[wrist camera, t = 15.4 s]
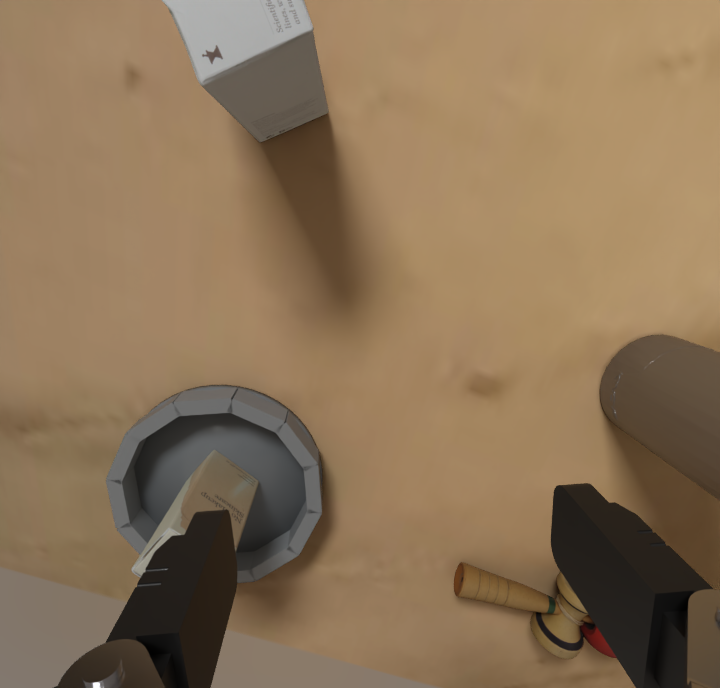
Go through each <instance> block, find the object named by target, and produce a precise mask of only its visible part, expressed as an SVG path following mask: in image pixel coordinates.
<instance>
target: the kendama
mask: <svg viewBox="0 0 720 688" xmlns="http://www.w3.org/2000/svg"><path fill="white" fill-rule="evenodd" d="M556 581H557V585H558V588H559V591H560V593H559V594H558V595H557V598H556V599H554V598H552V597H550V596H548V595H546V594H543V593H541V592H539V591H537V590H534V589H532V588H530V587H527V586H525V585H523V584H520V583H517V582H515V581H512V580H509V579H505V578H503V577H500V576H497V575H495V574H492V573H489V572H486V571H484V570H481V569H477V568H476V567H473V566H471V565H468V564H466V563H463V562H461V563H460V564H459V565H458V567H457V570H456V573H455V578H454V591H455V594H456V596H458V597H463V598H469V599H475V600H479V601H484V602H488V603H493V604H497V605H503V606H506V607H511V608H515V609H521V610H527V611H534V613H533V615H532V617H531V621H530V624H531V629H532V632H533V634H534V636H535V637H536V639H537V640H538V642H539V643H540V644H541V645H542V646H543V647H544V648H545V649H546V650H548V651H549V652H550V653H552V654H553V655H555V656H557V657H560V658H563V659H572V658H574V657H576V656H577V654H578V653H579V652H580V650H581V649H582V647H583V644H584V640H583V637H585V639H586V640H587V641H588V642H589V643H590V644H591V645H592V646H593V647H594V648H595V649H596V650H598V651H599V652H601V653H602V654H604V655H607V656H609V657H613V658H617V657H616V656H615V654H614V653H613V651H612V650H611V648H610V647H609V645H608V643H607V642H606V640H605V639H604V637H603V636H602V634H601V633H600V631H599V630H598V628H597V627H596V625H595V623H594V622H593V620H592V619H591V617H590V616H589V614H588V613H587V611H586V610H585V608H584V606H583V605H582V603H581V602H580V600H579V599H578V597H577V596H576V594H575V593H574V591H573V590H572V588H571V586H570V585H569V583H568V582H567V580H566V579H565V577H564V576H563V574H562V573H561V572H560V573H559V575H558V576H557V580H556Z"/></svg>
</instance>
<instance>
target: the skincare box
mask: <svg viewBox="0 0 720 688" xmlns="http://www.w3.org/2000/svg"><path fill="white" fill-rule="evenodd" d="M162 1H163V2H164V4H165V5H166V6H167V7H168V9H169V11H170V13H171V15H172V17H173V19H174V22H175V24H176V26H177V29H178V31H179V33H180V35H181V38H182V40H183V42H184V44H185V47H186V49H187V52H188V55H189V57H190V60H191V63H192V66H193V69H194V71H195V74H196V77H197V79H198V81H199V83H200V85H201V86H202V87H203V88H204V89H205V90H206V91H207V92H208V93H210V94H211V95H212V96H213V97H214V98H215V99H216V100H217V101H218V102H219V103H220V104H221V105H222V106H223V107H224V108H225V109H226V110H227V111H228V112H229V113H230V114H231V115H232V116H233V117H234V118H235V119H236V120H237V121H238V122H239V123H240V124H241V125H242V126H243V127H244V128H245V129H246V130H247V131H248V132H249V133H250V134H251V135H252V136H253V137H255V138H256V139H257V140H258V141H259V142H263V141H265V140H268V139H270V138H272V137H275V136H277V135H279V134H282V133H284V132H286V131H289V130H291V129H293V128H295V127H298V126H300V125H302V124H304V123H307V122H309V121H311V120H313V119H316V118H318V117H320V116H323V115H325V114H327V113H328V106H327V101H326V96H325V91H324V85H323V80H322V76H321V71H320V66H319V61H318V56H317V51H316V46H315V40H314V34H313V25H312V22H311V19H310V16H309V14H308V11H307V8H306V5H305V2H304V0H162Z"/></svg>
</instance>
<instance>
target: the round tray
mask: <svg viewBox="0 0 720 688" xmlns="http://www.w3.org/2000/svg"><path fill="white" fill-rule="evenodd" d="M213 450H216V451H218V452H219V453H220V454H222V455H223V456H225V457H226V458H228V459H229V460H230V461H232V462H233V463H235V464H236V465H237V466H239V467H240V468H242V469H243V470H244V471H246V472H247V473H248V474H250V475H251V476H253V477H254V478H255V479H257V480H258V481H259V485H258V487H257V490H256V493H255V496H254V499H253V502H252V505H251V508H250V511H249V514H248V517H247V520H246V523H245V526H244V529H243V532H242V535H241V538H240V541H239V544H238V547H237V550H236V560H237V583H244V582H254V581H255V580H256V581H257V580H259V579H260V578H262V577H264V576H265V575H267V574H269V573H270V572H272V571H274V570H276V569H277V568H279V567H281V566H282V565H284V564H286V563H287V562H289V561H291V560H292V559H294V558H296V557H297V556H298V555H299V554H300V552H301V551H302V549H303V547H304V545H305V543H306V542H307V540H308V538H309V536H310V534H311V532H312V531H313V529H314V527H315V525H316V523H317V522H318V520H319V518H320V516H321V514H322V499H323V495H322V465H321V458H320V455H319V452H318V448H317V446H316V444H315V441H314V439H313V437H312V435H311V434H310V432H309V431H308V429H307V428H306V426H305V425H304V424H303V423H302V421H301V420H300V419H299V418H298V417H297V416H296V415H295V414H294V413H293V412H292V411H291V410H290V409H288V408H287V407H286V406H284V405H283V404H281V403H280V402H278V401H277V400H275V399H273V398H271V397H269V396H267V395H265V394H263V393H260V392H258V391H255V390H252V389H248V388H244V387H239V386H231V385H208V386H200V387H196V388H192V389H188V390H185V391H182V392H180V393H177V394H175V395H173V396H171V397H169V398H168V399H166V400H164V401H162V402H161V403H160V404H158V405H157V406H156V407H155V408H153V409H152V410H151V411H150V412H149V413H148V414H147V415H145V416H144V417H142V418H141V419H139V420H138V421H137V422H136V423H135V424H134V425H133V426H132V427H131V428H130V429H129V430H128V431H127V433H126V434H125V436H124V438H123V441H122V443H121V445H120V448H119V450H118V452H117V455H116V457H115V459H114V462H113V464H112V466H111V469H110V471H109V473H108V476H107V478H106V479H107V480H106V484H107V488H108V493H109V498H110V503H111V507H112V512H113V517H114V522H115V527H116V528H118V529H117V531H118V532H119V533H120V534H121V535H122V536H123V537H124V538H125V539H126V540H127V541H128V542H129V543H130V545H131V546H132V547H133V548H134V549H135V550H136V551H137V552H138V553H139V554H140V555H141V553H142V552H143V550H144V549H145V547H146V545H147V544H148V542H149V541H150V539H151V537H152V536H153V534H154V532H155V531H156V529H157V528H158V526H159V524H160V523H161V521H162V520H163V518H164V517H165V515H166V513H167V512H168V510H169V509H170V507H171V505H172V504H173V502H174V500H175V499H176V497H177V495H178V494H179V492H180V491H181V489H182V487H183V486H184V484H185V482H186V481H187V480H188V478H189V477H190V476H191V475H192V474H193V472H194V471H195V470H196V469H197V468H198V467H199V465H200V464H201V463H202V462H203V461H204V460H205V459H206V458H207V456H208V455H209V454H210V453H211V452H212V451H213Z"/></svg>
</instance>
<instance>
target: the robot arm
mask: <svg viewBox="0 0 720 688" xmlns="http://www.w3.org/2000/svg"><path fill="white" fill-rule="evenodd" d="M600 400H601V403H602V407H603V410H604V412H605V413H606V415H607V417H608V418H609V419H610V420H611V421H612V422H613V423H614V424H615V425H616V426H618V427H619V428H620V429H622V430H623V431H625V432H626V433H627V434H629V435H630V436H631V437H633V438H634V439H636V440H637V441H638V442H640V443H641V444H642V445H644V446H645V447H646V448H648V449H649V450H650V451H652V452H653V453H655V454H656V455H657V456H659V457H660V458H661V459H663V460H664V461H666V462H667V463H668V464H670V465H671V466H673V467H674V468H675V469H677V470H678V471H679V472H681V473H682V474H684V475H685V476H686V477H688V478H689V479H691V480H692V481H693V482H695V483H696V484H697V485H699V486H700V487H702V488H703V489H704V490H706V491H707V492H709V493H710V494H711V495H713V496H714V497H715V498H717V499H718V500H720V352H717V351H714V350H712V349H709V348H706V347H703V346H700V345H697V344H694V343H691V342H688V341H685V340H682V339H679V338H676V337H673V336H668V335H651V336H647V337H643V338H640V339H638V340H636V341H634V342H632V343H630V344H628V345H627V346H626V347H624V348H623V349H621V350H620V351H619V352H618V353H617V354H616V355H615V357H614V358H613V359H612V360H611V362H610V363H609V365H608V366H607V368H606V370H605V372H604V375H603V377H602V381H601V387H600ZM551 547H552V552H553V556H554V559H555V562H556V564H557V566H558V568H559V570H560V571H561V573H562V574H563V576H564V577H565V579H566V580H567V582H568V583H569V585H570V586H571V588H572V590H573V591H574V593H575V594H576V596H577V597H578V599H579V600H580V602H581V603H582V605H583V606H584V608H585V610H586V611H587V613H588V614H589V616H590V617H591V619H592V620H593V622H594V623H595V625H596V627H597V628H598V630H599V631H600V633H601V634H602V636H603V637H604V639H605V640H606V642H607V643H608V645H609V647H610V648H611V650H612V651H613V653H614V654H615V656H616V657H617V659H618V660H619V662H620V664H621V665H622V667H623V668H624V670H625V671H626V673H627V674H628V676H629V677H630V679H631V680H632V682H633V684H634V685H635V687H636V688H720V590H715V589H713V588H712V587H711V586H710V585H709V584H708V583H707V582H706V581H705V580H704V579H703V578H702V577H701V576H699V575H698V574H697V573H696V572H695V571H694V570H693V569H692V568H691V567H690V566H689V565H688V564H687V563H686V562H685V561H684V560H683V559H682V558H681V557H680V556H679V555H678V554H677V553H676V552H675V551H674V550H673V549H672V548H671V547H670V546H666V544H665V542H664V541H663V540H662V539H661V538H660V537H659V536H658V535H657V534H656V533H653V532H652V529H651V528H650V527H649V526H648V525H647V524H646V523H645V522H644V521H643V520H642V519H641V518H640V517H639V516H637V515H636V514H635V513H633V512H631V511H629V510H627V509H626V508H624V507H622V506H620V505H619V504H617V503H615V502H614V503H609V502H608V501H607V500H606V499H605V498H604V497H603V496H602V495H601V494H600V493H599V492H598V491H597V490H596V489H595V488H594V487H593V486H592V485H591V484H588V483H584V484H571V485H559V486H556V488H555V490H554V496H553V512H552V529H551ZM236 587H237V560H236V552H235V545H234V538H233V530H232V523H231V516H230V513H229V511H228V510H214V511H200V512H196V513H195V514H194V515H193V517H192V520H191V522H190V524H189V526H188V528H187V530H186V532H185V534H184V535H174V536H171V537H170V538H169V539H168V540H167V541H166V542H165V543H163V544H162V545H161V546H160V547H159V548H158V549H157V550H156V551H155V552H154V554H153V556H152V558H151V560H150V561H149V563H148V565H147V567H146V569H145V572H143V574H142V576H141V578H140V580H139V582H138V585H137V587H136V588H135V589H134V591H133V593H132V595H131V596H130V598H129V600H128V602H127V604H126V606H125V608H124V610H123V611H122V613H121V615H120V617H119V619H118V620H117V622H116V624H115V626H114V628H113V630H112V632H111V633H110V635H109V637H108V639H107V641H106V643H104V644H102V645H100V646H98V647H95V648H94V649H92V650H90V651H89V652H87V653H85V654H84V655H83V656H81V657H80V658H79V659H78V660H77V661H76V662H74V663H73V664H72V665H71V666H70V668H69V669H68V670H67V671H66V673H65V674H64V675H63V677H62V678H61V680H60V682H59V684H58V686H56V687H54V688H210V687H211V683H212V680H213V675H214V672H215V668H216V665H217V661H218V657H219V653H220V649H221V646H222V642H223V638H224V634H225V631H226V627H227V623H228V619H229V615H230V612H231V608H232V604H233V600H234V597H235V592H236Z"/></svg>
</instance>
